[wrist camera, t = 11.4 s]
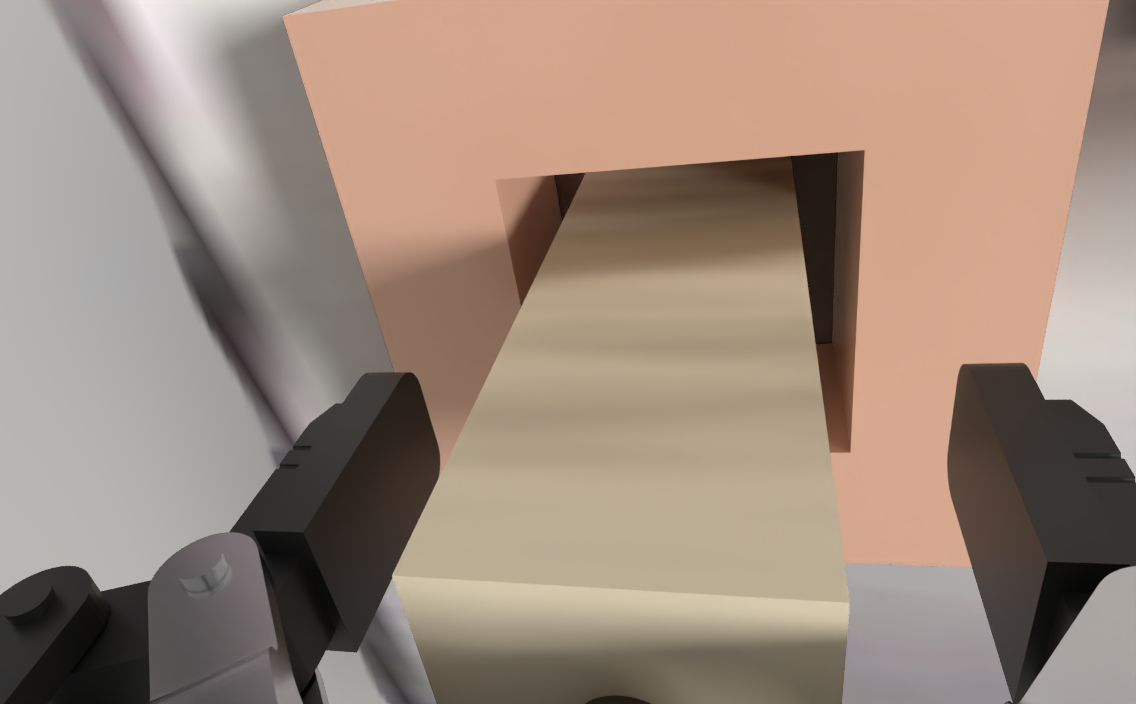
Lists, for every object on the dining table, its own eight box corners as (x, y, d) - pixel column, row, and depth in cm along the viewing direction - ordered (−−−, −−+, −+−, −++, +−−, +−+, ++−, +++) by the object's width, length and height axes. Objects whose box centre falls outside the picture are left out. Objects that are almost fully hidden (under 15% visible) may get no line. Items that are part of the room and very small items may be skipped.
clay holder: (377, -22, 16) (282, 16, 13) (1034, -119, 13) (1129, -104, 10) (493, 442, 22) (449, 548, 19) (957, 443, 19) (1000, 567, 16)
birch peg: (597, 149, 17) (312, 738, 6) (788, 137, 16) (875, 802, 5) (614, 310, 19) (430, 971, 8) (785, 307, 18) (845, 1045, 7)
